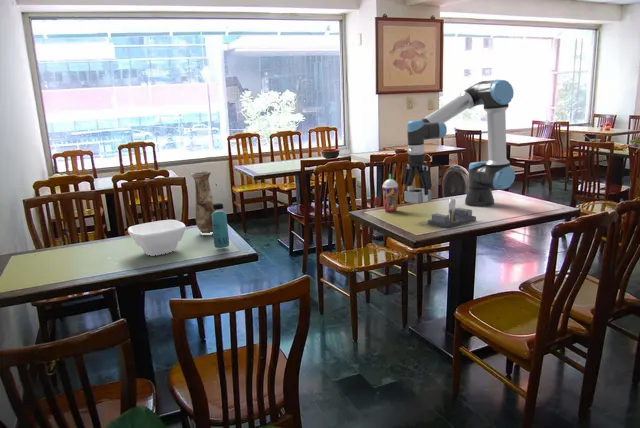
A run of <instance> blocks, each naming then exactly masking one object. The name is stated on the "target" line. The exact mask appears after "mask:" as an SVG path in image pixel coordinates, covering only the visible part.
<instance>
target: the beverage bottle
mask: <svg viewBox="0 0 640 428" xmlns="http://www.w3.org/2000/svg"><path fill="white" fill-rule="evenodd" d="M213 209H214V210H216V211H215V212H213V213H212V215H211V216H212V226H213V235H212V236H213V245H214V248H216V249H225V248H228V247H230V238H229V228H228V217H227V213H226V211H224V210H222V209H224V204H223V203H221V202H218V203H214V205H213Z"/></svg>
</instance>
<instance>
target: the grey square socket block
mask: <svg viewBox="0 0 640 428" xmlns="http://www.w3.org/2000/svg"><path fill="white" fill-rule="evenodd" d="M403 192H404V193H403V197H404V202H406V203H412V204H416V205H419V204H422V203H424V202H423V197H422V188H419V187H416V188H413V189H412V190H407V189H406V190H405V191H403ZM430 201H432V189H428V201H426V202H425V203H427V202H430Z"/></svg>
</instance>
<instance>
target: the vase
mask: <svg viewBox="0 0 640 428" xmlns="http://www.w3.org/2000/svg"><path fill="white" fill-rule="evenodd" d="M211 173H212V171H211V170H210V171H209V170H201V171H196V172H191V173H190V175H191V177H192V178H193V179H194V184H195V222H196V223H195V224H196V227H197V229H198V230H200V232H202V233H210V232H213V226H212V216H211V215H212V213H213V212H215V211H217V210H214V209H213V205H214V204H215V201H214V197H213V194H212V191H211V186H210V181H209V179H210V175H211Z"/></svg>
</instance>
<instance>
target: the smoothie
mask: <svg viewBox="0 0 640 428" xmlns="http://www.w3.org/2000/svg"><path fill="white" fill-rule="evenodd" d="M388 176H389V178H388V179H386V180H385V181H384V182H383V184H382V195H383V196H382V198H383V207H384V210H385V213H395V212H397V209H398V201H399V200H398V196H399V184H398V183H397V181H396V180H395V179H392V177H391V176H392V175H391V173H389V174H388Z"/></svg>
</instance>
